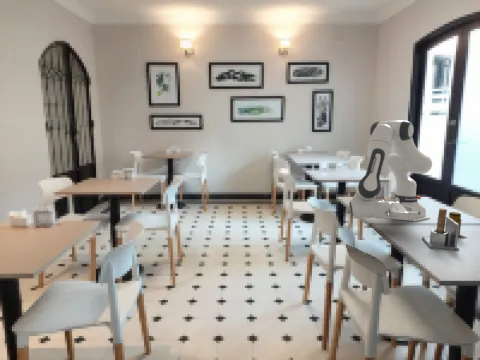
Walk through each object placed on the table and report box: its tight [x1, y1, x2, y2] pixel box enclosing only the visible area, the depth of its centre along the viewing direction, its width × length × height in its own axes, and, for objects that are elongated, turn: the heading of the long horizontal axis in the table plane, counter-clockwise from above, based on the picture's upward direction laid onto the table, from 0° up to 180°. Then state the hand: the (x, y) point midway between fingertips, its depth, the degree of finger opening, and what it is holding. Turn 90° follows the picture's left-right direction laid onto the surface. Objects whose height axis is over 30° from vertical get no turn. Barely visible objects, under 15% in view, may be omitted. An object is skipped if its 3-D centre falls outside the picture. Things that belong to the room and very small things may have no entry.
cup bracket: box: [421, 216, 460, 251], centre depth 170 cm, size 12×14×12 cm
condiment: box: [448, 211, 466, 239], centre depth 184 cm, size 7×8×12 cm
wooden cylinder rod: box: [435, 208, 448, 233], centre depth 170 cm, size 3×3×16 cm
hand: (414, 211), depth 172 cm, fingers open, 8 cm apart
